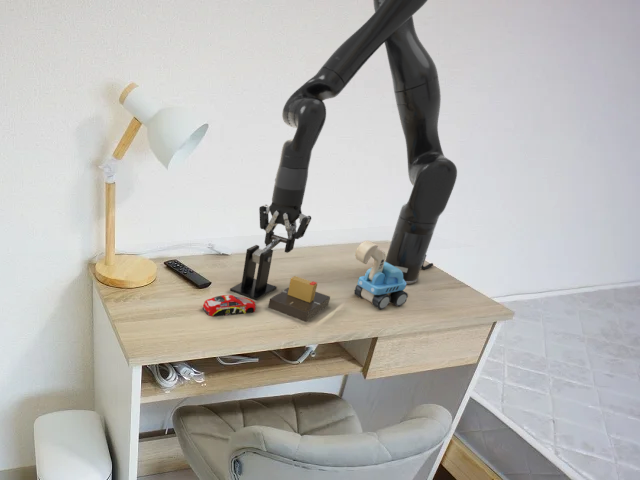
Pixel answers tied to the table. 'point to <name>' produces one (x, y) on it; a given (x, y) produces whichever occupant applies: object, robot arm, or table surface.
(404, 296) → the toy excavator
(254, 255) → the grey lever handle
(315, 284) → the lock knob
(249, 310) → the race car
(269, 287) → the lever bracket
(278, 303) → the lock plate
